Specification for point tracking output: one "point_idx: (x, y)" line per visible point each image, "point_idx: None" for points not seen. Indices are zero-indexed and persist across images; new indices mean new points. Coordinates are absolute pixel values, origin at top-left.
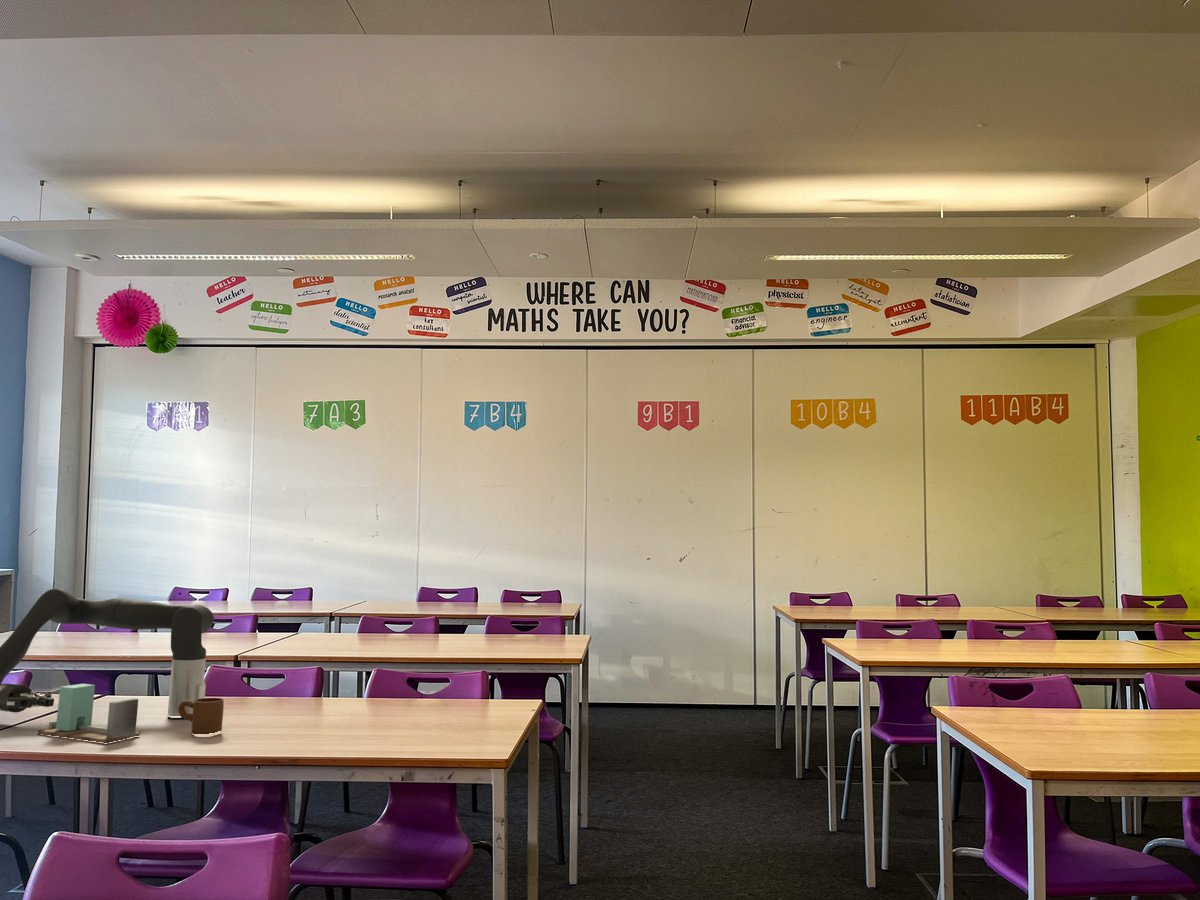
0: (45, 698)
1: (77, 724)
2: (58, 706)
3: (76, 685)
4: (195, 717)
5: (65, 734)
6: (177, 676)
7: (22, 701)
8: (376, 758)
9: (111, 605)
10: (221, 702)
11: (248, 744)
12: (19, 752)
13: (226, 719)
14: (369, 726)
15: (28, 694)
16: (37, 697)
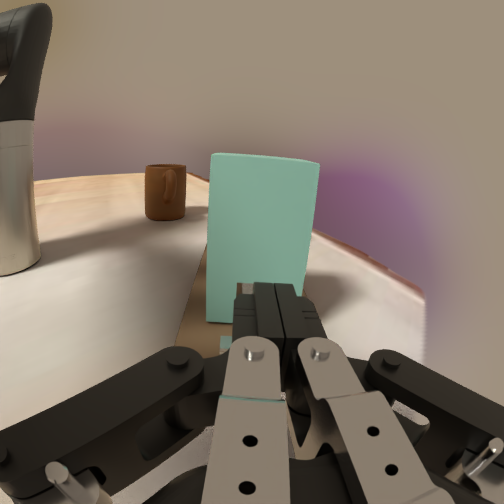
0: (296, 299)
1: (252, 284)
2: (309, 245)
3: (259, 156)
4: (184, 189)
5: (303, 290)
6: (27, 160)
7: (425, 432)
8: (206, 180)
9: None
10: (165, 166)
11: (197, 199)
12: (410, 285)
13: (50, 230)
14: (102, 188)
15: (379, 469)
16: (327, 348)
